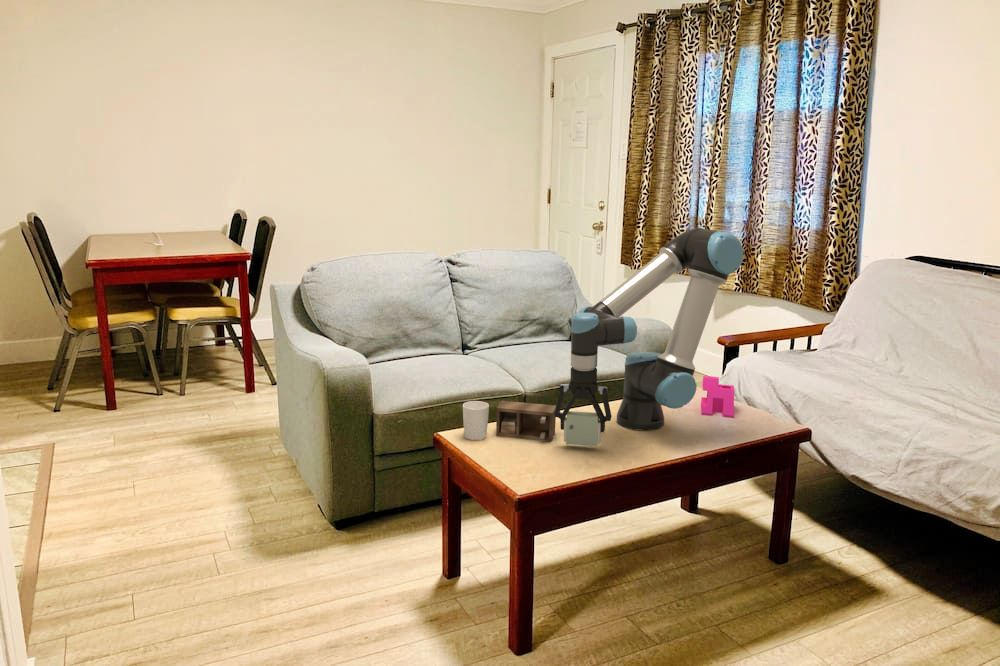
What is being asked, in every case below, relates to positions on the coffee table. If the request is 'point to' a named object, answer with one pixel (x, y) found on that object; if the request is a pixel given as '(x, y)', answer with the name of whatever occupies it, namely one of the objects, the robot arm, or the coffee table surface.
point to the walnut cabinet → (526, 420)
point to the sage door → (582, 428)
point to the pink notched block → (717, 398)
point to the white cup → (475, 419)
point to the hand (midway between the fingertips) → (582, 441)
